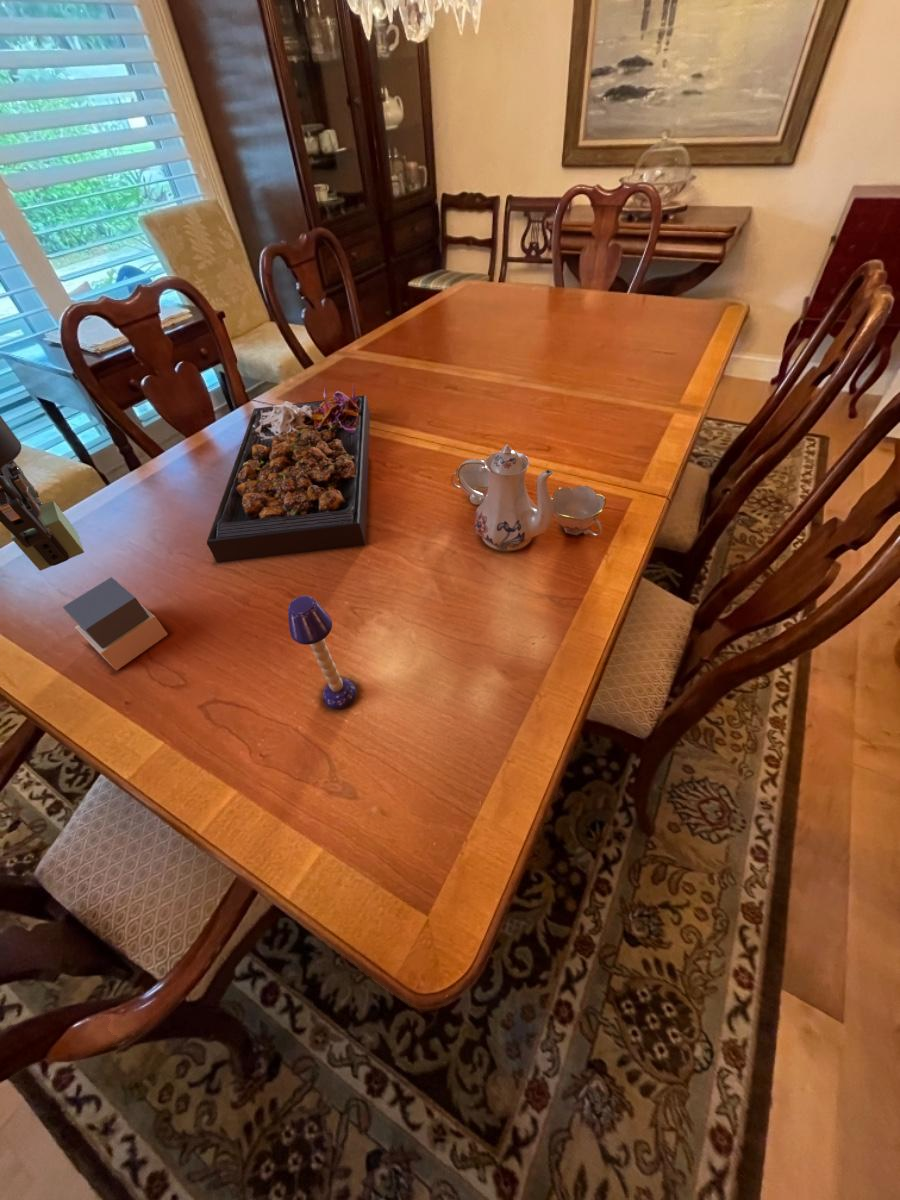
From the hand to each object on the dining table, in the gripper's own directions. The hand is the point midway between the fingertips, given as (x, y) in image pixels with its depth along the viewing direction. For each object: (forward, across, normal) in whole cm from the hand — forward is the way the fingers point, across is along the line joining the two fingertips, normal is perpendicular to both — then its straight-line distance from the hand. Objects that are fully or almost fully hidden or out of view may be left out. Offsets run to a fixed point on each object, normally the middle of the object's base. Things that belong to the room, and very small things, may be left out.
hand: (56, 549), depth 65 cm
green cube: (0, 0, 0) cm, 0 cm away
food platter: (+18, -22, +38) cm, 47 cm away
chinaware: (+18, +16, +59) cm, 64 cm away
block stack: (+18, 0, 0) cm, 18 cm away
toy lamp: (+18, +28, +20) cm, 38 cm away
